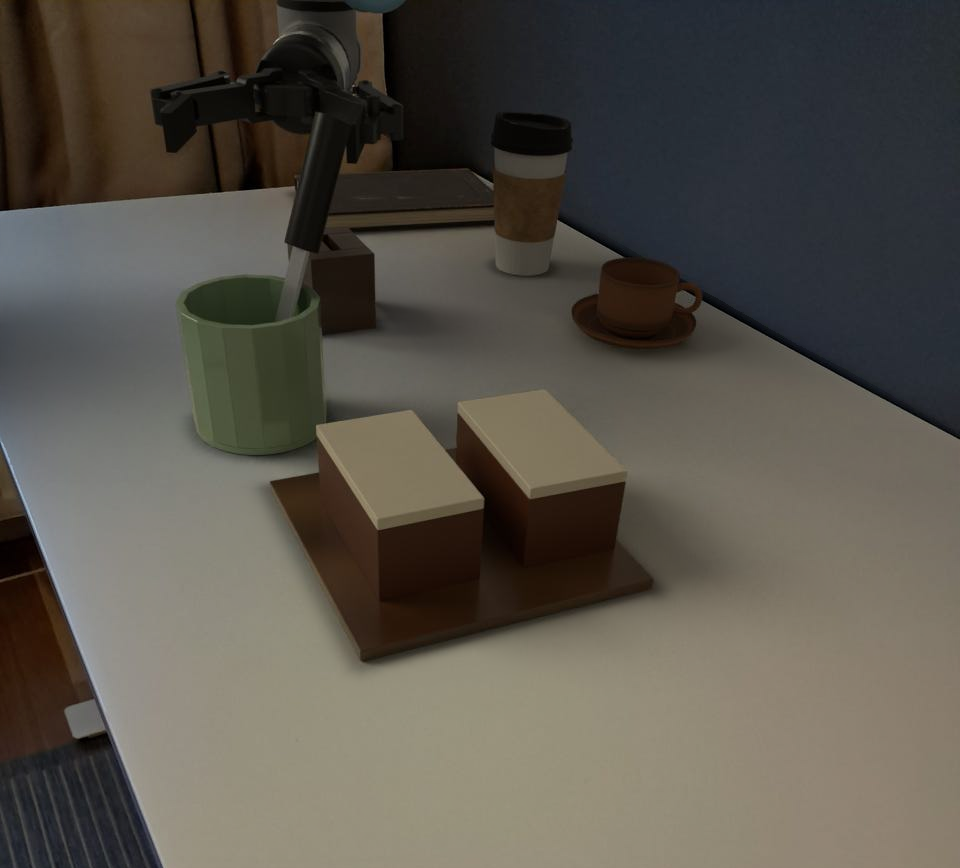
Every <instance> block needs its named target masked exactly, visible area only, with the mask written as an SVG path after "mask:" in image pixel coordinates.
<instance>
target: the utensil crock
mask: <svg viewBox="0 0 960 868" xmlns="http://www.w3.org/2000/svg"><path fill="white" fill-rule="evenodd" d="M284 281H285V277H282V276H276V275H271V274H270V275H269V274H236V275H225V276H219V277H215V278H212V279H208V280H204V281H201V282H196V283H194V284H193V285H191V286H190V287H187V288H186V289H184V290H183V291H181V292H180V294H179V295H178V297H177V299H176V301H175V309H176V317H177V322H178V323H177V324H178V329H179V330H178V331H179V337H180V341H181V347H182V348H181V349H182V355H183V360H184V367H185V373H186V380H187V387H188V392H189V400H190V406H191V413H192V418H193V422H194V426H195V430H196V434H197V435H198V436H199V437H200V439H201V440H202V441H203V442H205V443H206V444H207V445H209V446H211V447H212V448H214V449H217V450H220V451H222V452H223V451H224V452H227V453H232V454H237V455H244V456H266V455H277V454H281V453H286V452H291V451H295V450H297V449H300V448H302V447H305V446H306V445H309V444H310V443H313V442H314V441H315V440H317V433H316V425H320V424H326V423H327V413H328V412H327V394H326V377H325V360H324V359H325V358H324V342H323V341H324V340H323V335H322V323H321V306H320V297H319V296H318V295H317V293H316V292H315V291H314V290H313V288H311V287H309V286H307V285H305V284H303V283H302V286H301V290H300V294H299V298H298V302H297V306H296V310H295V314H294V317H292V318H288V319H285V320H282V321H279V322H275V318H276V314H277V310H278V306H279V301H280V297H281V293H282V289H283V285H284Z"/></svg>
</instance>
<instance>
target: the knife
mask: <svg viewBox="0 0 960 868" xmlns="http://www.w3.org/2000/svg"><path fill="white" fill-rule="evenodd" d="M350 128H351V125H350V124H349V123H347V122H345V121H342V120H340V119H338V118H335V117H333V116H330V115H327V114H324V113H321V112H315V115H314V120H313V124H312V128H311V132H310V134H309V136H308V141H307V144H306V149H305V153H304V158H303V161H302V165H301V171H300V173H299V175H300V178H299V182H298V186H297V190H296V192H295V195H294V200H293V203H292V206H291V207H292V208H291V211H290V216H289V219H288V225H287V229H286V233H285V237H284V241H283V242H284V243H285V244H289V245H292V246H293V248H292V252H291V256H290V260H289V259H288V265H287V269H286V273H285V276H284V278H285V281H284V285H283V289H282V293H281V297H280V301H279V306H278V310H277V314H276V318H275V322H279V321H282V320H285V319H288V318H292V317H294V314H295V310H296V306H297V302H298V298H299V294H300V290H301V286H302V282H303V278H304V274H305V270H306V266H307V262H308V258H309V254H310V252H312V253H316V254H319V251H320V247H321V243H322V239H323V235H324V231H325V227H326V223H327V219H328V215H329V211H330V207H331V203H332V199H333V195H334V191H335V187H336V183H337V179H338V176H339V173H340V171H341V167H342V164H343V159H344V155H345V152H346V144H347V140H348V136H349V132H350ZM308 251H309V252H308Z"/></svg>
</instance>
